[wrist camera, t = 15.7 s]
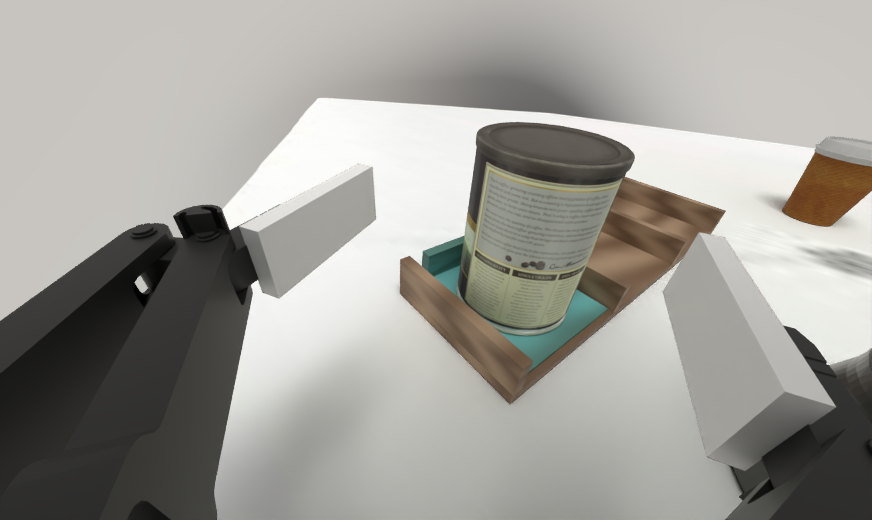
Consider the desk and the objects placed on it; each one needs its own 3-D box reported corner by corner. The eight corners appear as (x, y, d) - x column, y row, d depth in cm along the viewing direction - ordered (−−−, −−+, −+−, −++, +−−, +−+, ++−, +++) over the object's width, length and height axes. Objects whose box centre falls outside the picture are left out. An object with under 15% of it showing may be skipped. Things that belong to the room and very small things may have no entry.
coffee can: (437, 273, 32) (451, 122, 24) (522, 255, 36) (559, 120, 27) (492, 353, 24) (541, 171, 16) (592, 319, 28) (673, 158, 20)
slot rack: (709, 236, 46) (725, 210, 43) (510, 404, 22) (523, 368, 20) (614, 199, 54) (624, 176, 52) (400, 293, 31) (400, 259, 29)
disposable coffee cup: (762, 211, 55) (815, 138, 48) (779, 201, 59) (829, 133, 52) (839, 237, 48) (913, 158, 41) (851, 223, 53) (919, 150, 46)
